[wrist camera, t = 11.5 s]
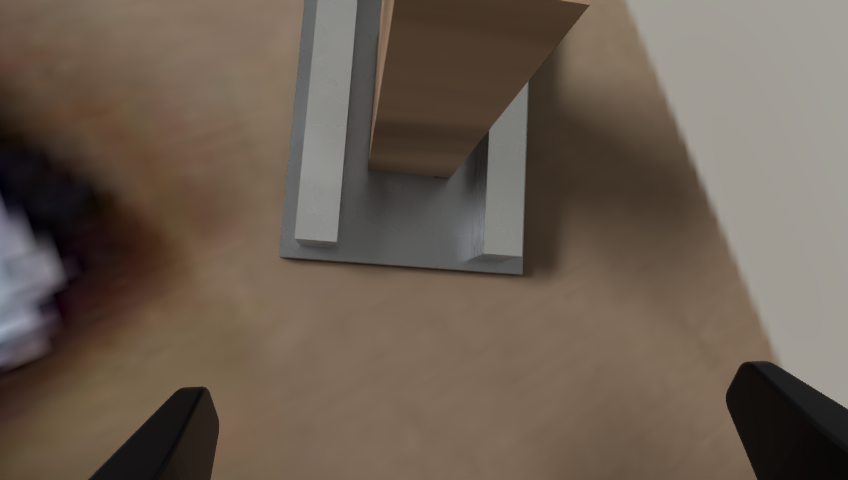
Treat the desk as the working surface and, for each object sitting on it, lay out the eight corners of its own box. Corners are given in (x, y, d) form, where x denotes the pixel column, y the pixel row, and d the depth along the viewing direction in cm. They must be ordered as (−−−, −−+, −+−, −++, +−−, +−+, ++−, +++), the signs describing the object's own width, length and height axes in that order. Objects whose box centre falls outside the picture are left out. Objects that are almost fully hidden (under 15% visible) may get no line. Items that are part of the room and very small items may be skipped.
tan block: (450, 177, 21) (590, 5, 9) (367, 169, 21) (398, -25, 9) (457, 45, 22) (593, -275, 10) (378, 34, 22) (419, -316, 10)
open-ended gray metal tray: (517, 275, 22) (540, 271, 19) (280, 257, 21) (271, 250, 18) (527, -21, 24) (549, -60, 21) (312, -56, 23) (307, -102, 20)
